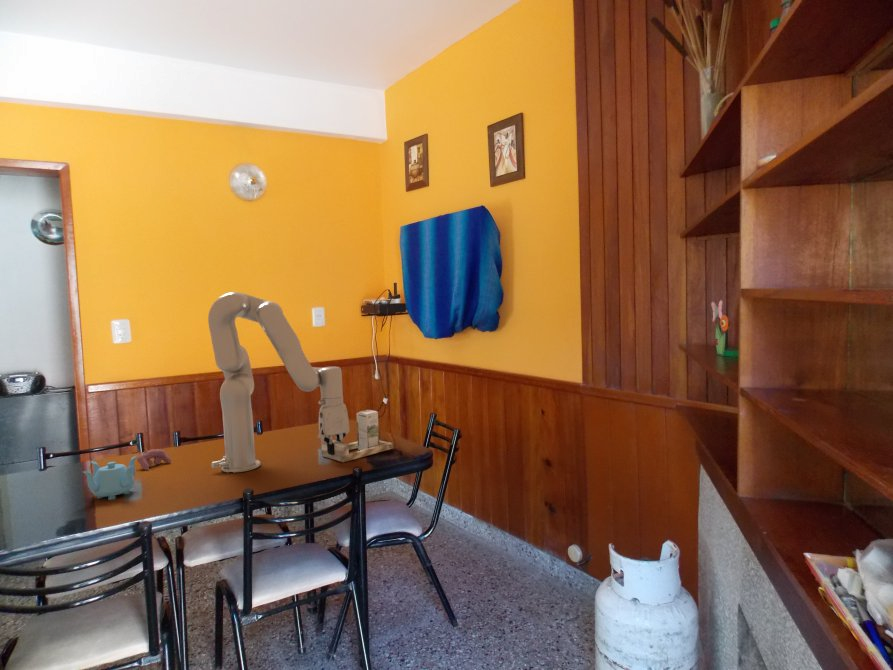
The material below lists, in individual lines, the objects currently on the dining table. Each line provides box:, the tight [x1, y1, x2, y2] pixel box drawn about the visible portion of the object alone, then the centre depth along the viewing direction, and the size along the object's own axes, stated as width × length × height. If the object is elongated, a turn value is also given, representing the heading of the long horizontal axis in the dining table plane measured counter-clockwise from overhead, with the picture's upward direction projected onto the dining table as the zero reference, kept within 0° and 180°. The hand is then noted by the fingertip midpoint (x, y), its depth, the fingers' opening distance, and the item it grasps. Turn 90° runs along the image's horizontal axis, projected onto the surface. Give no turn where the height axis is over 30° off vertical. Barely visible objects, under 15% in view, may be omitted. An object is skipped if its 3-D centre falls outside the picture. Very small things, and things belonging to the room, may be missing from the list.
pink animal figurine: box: [136, 448, 171, 471], centre depth 203 cm, size 10×5×7 cm, turn 151°
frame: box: [320, 439, 393, 463], centre depth 209 cm, size 22×13×6 cm, turn 135°
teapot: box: [82, 454, 138, 501], centre depth 172 cm, size 13×13×10 cm
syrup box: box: [356, 409, 380, 451], centre depth 212 cm, size 6×6×14 cm
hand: (335, 453), depth 202 cm, fingers closed on frame, 2 cm apart
